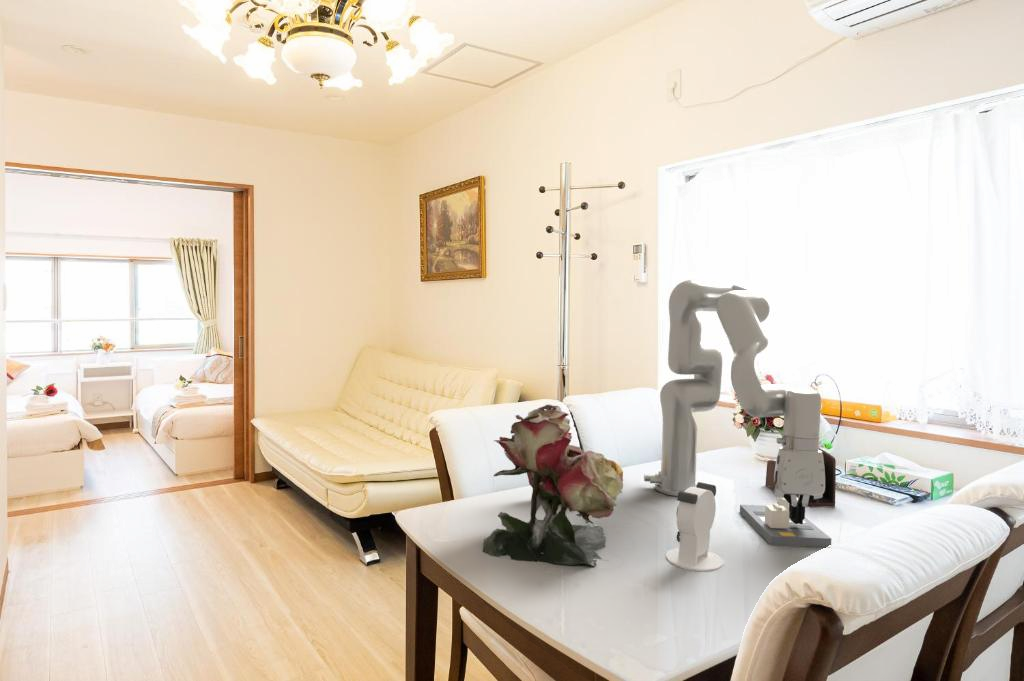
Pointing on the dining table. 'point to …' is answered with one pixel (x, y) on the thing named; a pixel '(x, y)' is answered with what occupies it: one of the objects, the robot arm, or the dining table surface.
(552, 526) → the rose bouquet
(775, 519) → the switch tab
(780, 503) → the switch tab
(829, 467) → the letter holder
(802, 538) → the switch panel
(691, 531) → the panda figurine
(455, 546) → the dining table surface
